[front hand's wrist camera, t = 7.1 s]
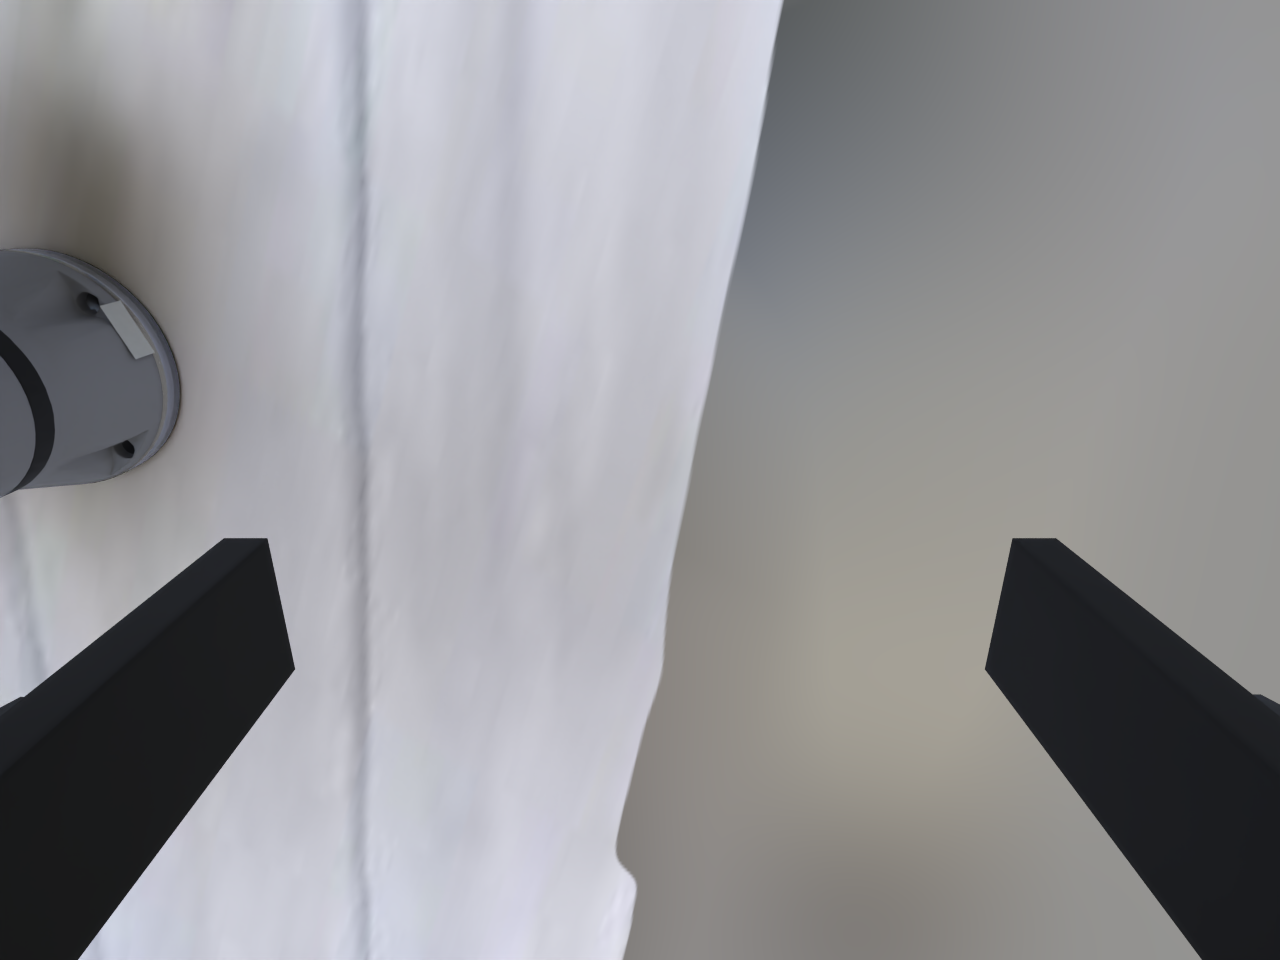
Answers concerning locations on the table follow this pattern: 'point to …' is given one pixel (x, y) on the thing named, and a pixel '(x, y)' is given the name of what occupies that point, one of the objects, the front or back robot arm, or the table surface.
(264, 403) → the table surface
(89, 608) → the table surface
